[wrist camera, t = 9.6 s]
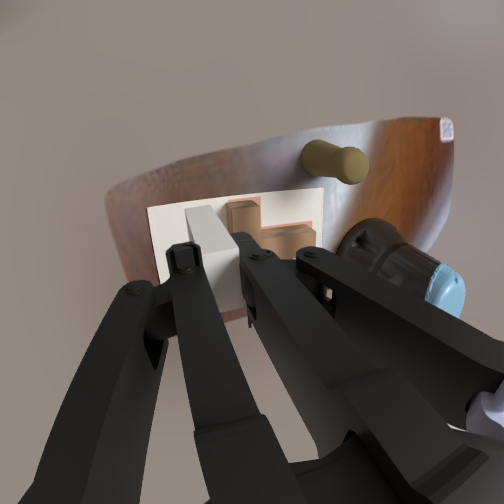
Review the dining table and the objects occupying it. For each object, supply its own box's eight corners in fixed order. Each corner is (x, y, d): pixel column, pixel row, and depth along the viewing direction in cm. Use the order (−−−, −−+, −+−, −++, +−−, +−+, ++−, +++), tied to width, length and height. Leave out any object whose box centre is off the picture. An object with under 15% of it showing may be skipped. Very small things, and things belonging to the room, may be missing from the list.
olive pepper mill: (331, 176, 47) (372, 191, 37) (299, 175, 45) (336, 189, 35) (335, 141, 44) (377, 147, 35) (302, 137, 43) (341, 142, 33)
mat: (322, 187, 47) (323, 187, 47) (319, 273, 54) (319, 273, 53) (147, 207, 40) (146, 207, 40) (164, 301, 47) (164, 302, 47)
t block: (305, 194, 46) (317, 200, 43) (303, 271, 52) (313, 281, 49) (225, 202, 43) (231, 209, 40) (232, 284, 49) (238, 297, 45)
